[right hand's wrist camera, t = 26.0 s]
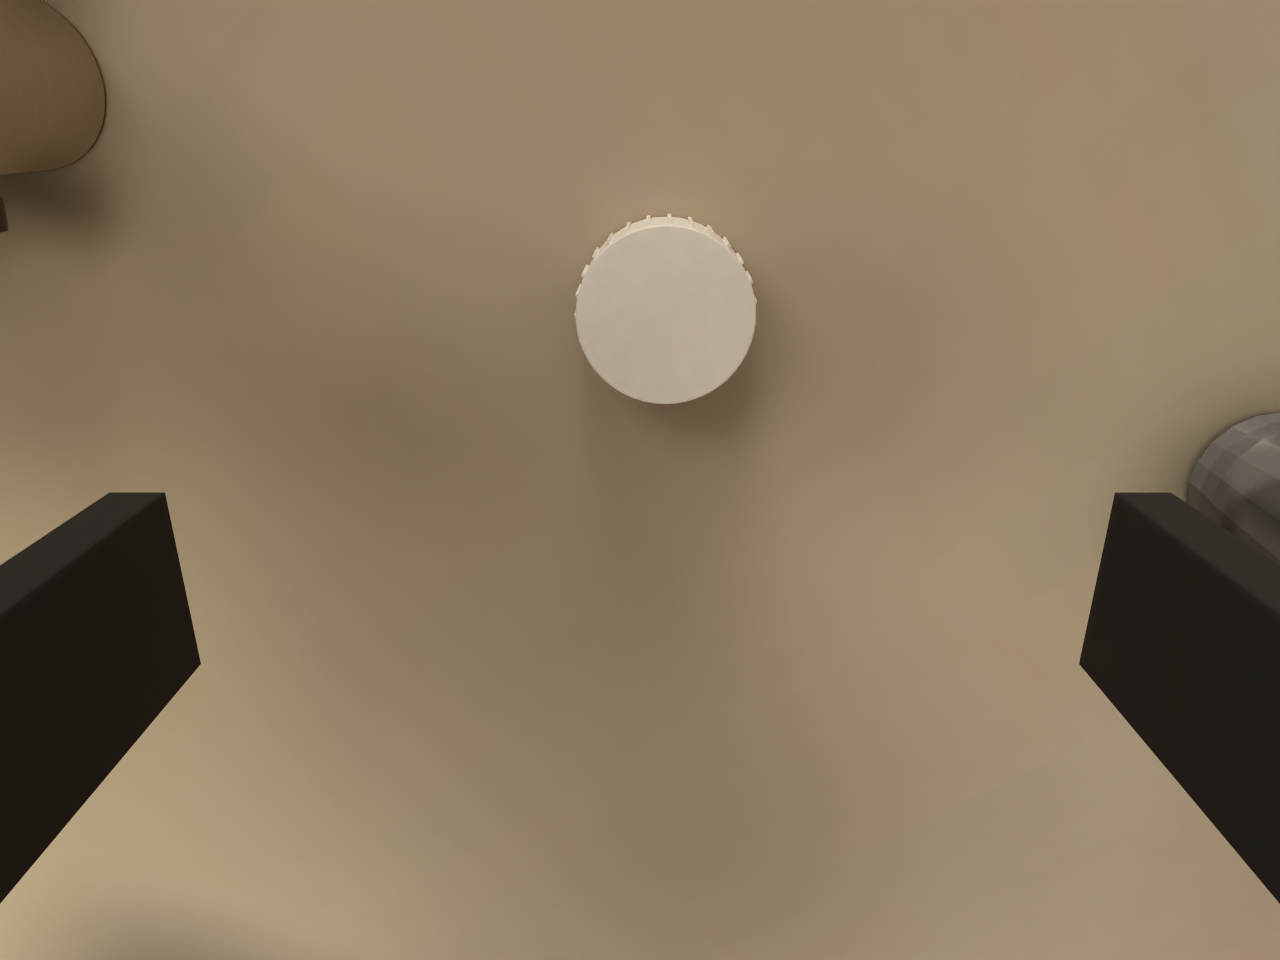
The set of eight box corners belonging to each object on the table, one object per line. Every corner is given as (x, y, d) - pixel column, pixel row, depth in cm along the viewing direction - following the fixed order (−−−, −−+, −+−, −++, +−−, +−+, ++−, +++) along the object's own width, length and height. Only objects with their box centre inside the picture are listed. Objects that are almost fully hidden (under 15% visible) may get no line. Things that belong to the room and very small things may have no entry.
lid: (604, 404, 27) (600, 425, 25) (557, 239, 25) (549, 250, 23) (767, 364, 27) (775, 383, 25) (731, 192, 25) (736, 199, 23)
